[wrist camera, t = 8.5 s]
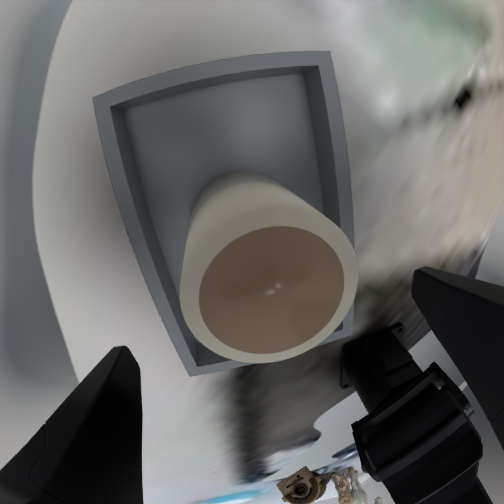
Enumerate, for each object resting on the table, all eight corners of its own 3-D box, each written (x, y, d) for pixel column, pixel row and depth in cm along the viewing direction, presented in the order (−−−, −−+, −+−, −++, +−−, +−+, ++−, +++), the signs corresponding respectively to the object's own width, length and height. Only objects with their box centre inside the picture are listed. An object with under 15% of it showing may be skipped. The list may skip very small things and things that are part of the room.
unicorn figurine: (356, 478, 46) (373, 518, 34) (307, 480, 39) (325, 534, 27) (380, 464, 45) (400, 505, 32) (336, 465, 37) (358, 521, 25)
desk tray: (336, 310, 21) (353, 334, 18) (190, 347, 20) (189, 376, 17) (309, 63, 13) (329, 51, 11) (111, 103, 13) (92, 97, 10)
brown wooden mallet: (345, 479, 30) (287, 509, 27) (345, 497, 34) (297, 521, 31) (323, 450, 36) (268, 477, 34) (327, 474, 40) (282, 496, 38)
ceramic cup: (298, 255, 18) (357, 338, 10) (205, 278, 17) (209, 378, 10) (284, 161, 15) (356, 189, 8) (178, 184, 15) (152, 234, 7)
